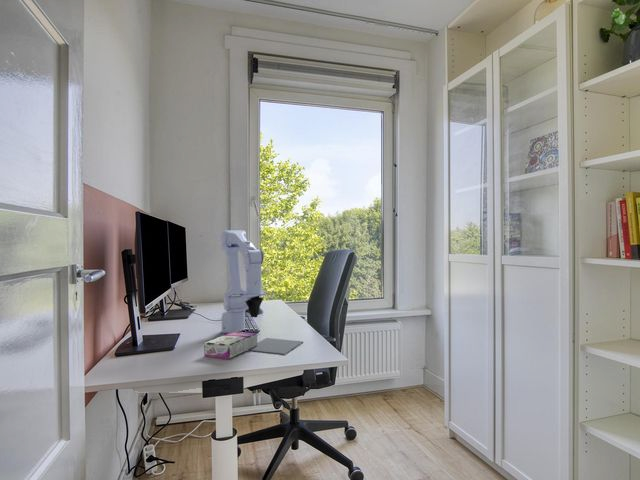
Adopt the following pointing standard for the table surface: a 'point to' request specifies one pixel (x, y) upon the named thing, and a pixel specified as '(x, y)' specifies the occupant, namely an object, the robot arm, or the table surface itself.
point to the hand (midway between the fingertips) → (254, 316)
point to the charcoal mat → (276, 346)
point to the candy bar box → (230, 344)
